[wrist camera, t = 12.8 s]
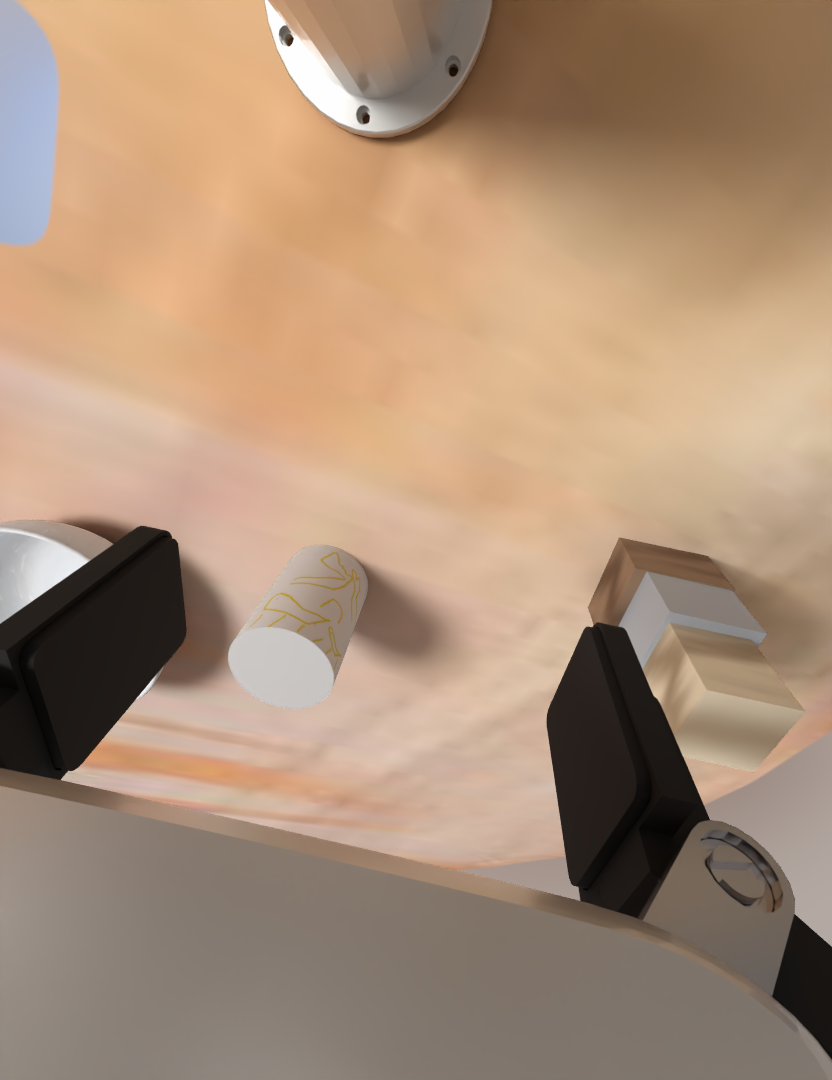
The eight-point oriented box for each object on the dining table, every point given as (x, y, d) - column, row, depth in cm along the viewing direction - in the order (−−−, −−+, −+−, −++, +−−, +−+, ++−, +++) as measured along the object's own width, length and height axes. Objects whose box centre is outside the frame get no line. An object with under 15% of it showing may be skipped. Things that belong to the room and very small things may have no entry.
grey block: (646, 571, 35) (669, 611, 31) (732, 590, 35) (767, 633, 31) (612, 636, 38) (629, 681, 34) (691, 653, 38) (717, 701, 34)
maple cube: (669, 622, 31) (706, 689, 26) (751, 639, 31) (805, 711, 26) (636, 680, 34) (664, 752, 29) (711, 696, 34) (753, 772, 29)
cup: (384, 578, 44) (354, 669, 34) (339, 628, 48) (299, 724, 38) (313, 528, 43) (258, 607, 32) (272, 584, 46) (210, 671, 36)
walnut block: (618, 537, 40) (636, 568, 35) (707, 555, 39) (735, 589, 35) (587, 606, 43) (599, 642, 39) (668, 624, 43) (689, 662, 39)
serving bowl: (85, 458, 42) (19, 487, 36) (237, 623, 50) (203, 670, 44) (-33, 551, 50) (-104, 588, 44) (114, 684, 57) (71, 731, 51)
